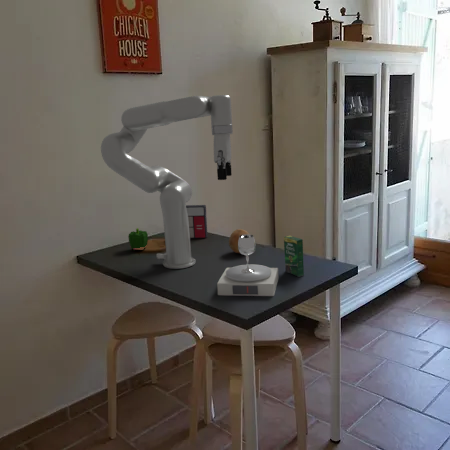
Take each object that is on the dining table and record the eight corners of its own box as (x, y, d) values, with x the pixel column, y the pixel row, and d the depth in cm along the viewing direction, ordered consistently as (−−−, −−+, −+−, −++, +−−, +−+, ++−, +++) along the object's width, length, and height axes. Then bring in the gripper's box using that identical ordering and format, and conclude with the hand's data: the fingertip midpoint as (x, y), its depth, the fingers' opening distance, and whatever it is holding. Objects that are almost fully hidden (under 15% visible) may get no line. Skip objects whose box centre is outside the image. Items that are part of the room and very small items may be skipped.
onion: (258, 252, 209) (257, 229, 207) (238, 258, 204) (237, 233, 201) (244, 248, 217) (242, 225, 214) (224, 253, 211) (223, 229, 209)
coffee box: (284, 271, 185) (283, 236, 182) (290, 269, 186) (289, 234, 183) (297, 277, 178) (296, 240, 175) (304, 275, 179) (303, 239, 176)
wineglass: (251, 274, 166) (249, 239, 163) (236, 272, 169) (234, 237, 166) (259, 269, 171) (258, 234, 168) (244, 267, 174) (243, 233, 171)
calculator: (182, 239, 238) (180, 207, 234) (185, 236, 242) (182, 205, 238) (206, 238, 236) (204, 206, 232) (208, 236, 240) (205, 204, 236)
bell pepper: (133, 247, 229) (130, 225, 226) (151, 246, 227) (148, 225, 225) (127, 252, 221) (124, 230, 218) (145, 252, 219) (143, 229, 217)
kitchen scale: (217, 295, 165) (216, 279, 164) (227, 278, 181) (226, 263, 179) (273, 296, 161) (273, 280, 160) (278, 278, 177) (277, 263, 176)
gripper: (216, 129, 194) (219, 174, 198) (206, 132, 177) (209, 181, 181) (236, 128, 192) (238, 174, 196) (227, 131, 176) (230, 181, 180)
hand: (224, 177), depth 189 cm, fingers open, 9 cm apart
